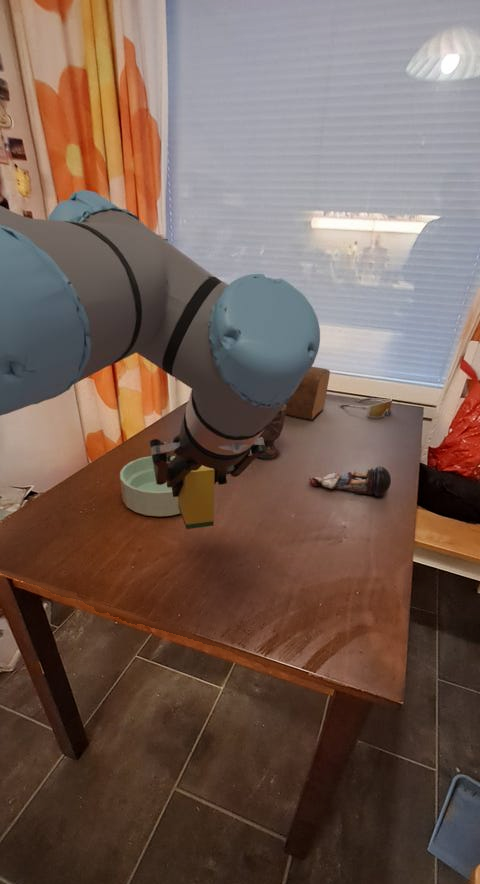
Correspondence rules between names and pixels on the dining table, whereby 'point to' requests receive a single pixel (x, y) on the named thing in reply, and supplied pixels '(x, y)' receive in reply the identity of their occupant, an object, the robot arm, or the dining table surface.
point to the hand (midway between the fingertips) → (189, 486)
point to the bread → (309, 394)
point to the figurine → (357, 481)
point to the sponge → (197, 498)
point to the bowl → (146, 490)
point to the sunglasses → (375, 407)
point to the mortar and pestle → (273, 434)
